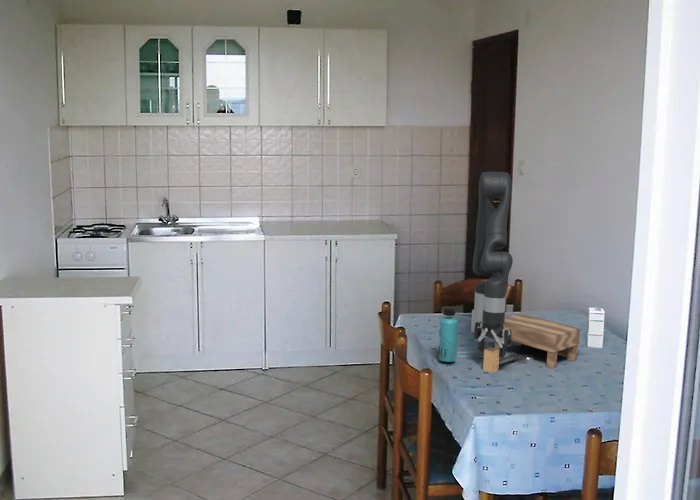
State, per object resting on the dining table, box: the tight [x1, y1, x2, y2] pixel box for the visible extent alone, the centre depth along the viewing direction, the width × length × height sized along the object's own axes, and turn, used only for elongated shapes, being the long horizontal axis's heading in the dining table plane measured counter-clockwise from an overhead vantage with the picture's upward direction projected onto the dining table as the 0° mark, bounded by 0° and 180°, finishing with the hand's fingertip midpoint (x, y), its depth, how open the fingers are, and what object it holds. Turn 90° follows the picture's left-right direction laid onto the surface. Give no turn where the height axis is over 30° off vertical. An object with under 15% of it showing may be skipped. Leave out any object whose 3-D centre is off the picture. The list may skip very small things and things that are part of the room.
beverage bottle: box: [438, 307, 459, 363], centre depth 275 cm, size 6×7×20 cm
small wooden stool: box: [494, 312, 581, 369], centre depth 286 cm, size 16×26×12 cm, turn 42°
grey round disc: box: [523, 353, 535, 361], centre depth 284 cm, size 4×4×1 cm
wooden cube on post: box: [482, 346, 528, 373], centre depth 274 cm, size 18×7×8 cm, turn 132°
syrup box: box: [585, 307, 606, 349], centre depth 300 cm, size 6×6×14 cm
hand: (491, 354), depth 269 cm, fingers open, 8 cm apart
